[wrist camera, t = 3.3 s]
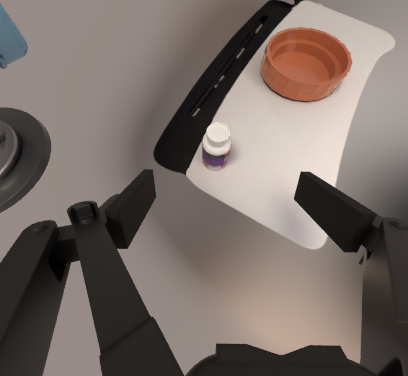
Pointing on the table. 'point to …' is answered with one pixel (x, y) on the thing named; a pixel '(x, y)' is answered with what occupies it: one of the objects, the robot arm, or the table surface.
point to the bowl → (305, 63)
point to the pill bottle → (216, 146)
